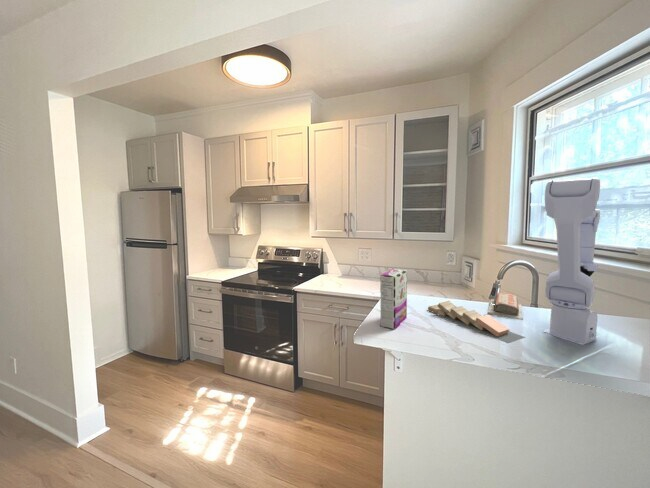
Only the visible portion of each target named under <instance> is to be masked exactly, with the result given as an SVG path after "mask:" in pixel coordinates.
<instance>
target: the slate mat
mask: <svg viewBox="0 0 650 488" xmlns="http://www.w3.org/2000/svg"><path fill="white" fill-rule="evenodd" d="M436 316H438V317H439V318H443V319H445V320H448V321H451V322H453V323H456V324H457V325H459V326H462V327H464V328H465V327H466V328H467V329H471V330H473V331H475V332H478V333H480V334H484V335H486V336H488V337H491V338H493V339H496V340H498V341H501V342H503V343H506V344H510V343H513V342H516V341H518V340H521V339H525V338H526V336H523V335H521V334H518V333H515V332H513V331H510V330H509V332H508V333H507V334H504V335H501V336H495V335H494V334H493V333H491V332H490V331H488V330H487V329H486V330H482V331H481V330H480V329H479V328H477V327H476V326H475V325H473V324H471V325H467V324H465V323H464V322H463V321H461V320H460V319H459V318H458V319H455V320H454V319H452V318H451V317H450V316H449V315H447V316H443V315H440V314H436Z"/></svg>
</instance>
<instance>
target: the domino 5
mask: <svg viewBox="0 0 650 488" xmlns="http://www.w3.org/2000/svg"><path fill="white" fill-rule="evenodd" d="M476 322H477V323H479V324H480V325H481V326H483V327H484V328H486V329H487V330H488V331H490V332H491V333H493V334H494V335H495V336H501V335H504V334H507V333H508V332H509V331H510V328H509V327H508V326H506V325H505V324H503V323H501V322H500V321H498V320H496V319H495V318H494V317H492V316H491V315H490V314H485V315H482V316H480V317H477V318H476Z"/></svg>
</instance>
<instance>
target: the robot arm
mask: <svg viewBox="0 0 650 488" xmlns="http://www.w3.org/2000/svg"><path fill="white" fill-rule="evenodd" d="M600 193H601V180H600V179H599V178H598V177H597V176H595V177H589V178H588V177H587V178H573V179H572V178H571V179H562V180H561V179H560V180H553V179H551V180H549V181H548V182H547V183H546V185H545V190H544V207H545V208H544V209H545V212H546V216H548V217H550V218H551V219H553V221H554V223H555V228H556V246H557V247H556V249H557V270H556V271H555V270H554V271H553V272H551V273H549V275H548V277H547V278H546V281H545V294H544V295H545V298H546V299H547V301H549V303H550V304H551V309H550V310H551V311H550V321H549V322H550V323H549V328H547V329H544V330H542V332H543V334H548V335H551V336H553V337H555V338H560V339H563V340H566V341H569V342H572V343H575V344H578V345H580V346H581V345H582V346H585V345H586V344H589V343H591V342H594V341H596V340H597V331H598V330H597V327H598V313H597V312H596V311H595V310H592V309H589V308H590V307H591V306H592V305H593V304H594V298H595V286H594V280H593V278H592V277H591V276H592V275H593V274H594V273H595V272H598V268H599V264H596V262H595V261H594V257H595V256H594V255H595V246H596V245H595V244H596V237H597V236H596V235H597V232H598V226H599V224H600V220H601V211H600V208H599V209H598V208H597V205H598V201H599V198H600Z"/></svg>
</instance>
